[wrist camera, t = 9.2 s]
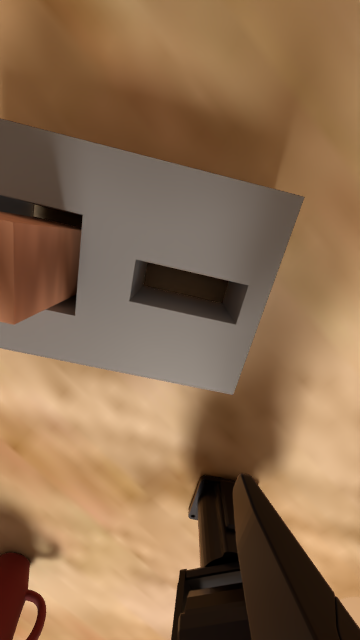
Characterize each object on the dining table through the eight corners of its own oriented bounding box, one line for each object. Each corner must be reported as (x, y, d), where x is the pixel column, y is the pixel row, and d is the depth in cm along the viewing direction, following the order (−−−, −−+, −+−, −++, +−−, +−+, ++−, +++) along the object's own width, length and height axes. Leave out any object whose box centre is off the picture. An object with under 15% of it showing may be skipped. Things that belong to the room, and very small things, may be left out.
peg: (94, 285, 18) (14, 324, 9) (43, 273, 18) (-87, 302, 9) (100, 232, 17) (13, 222, 8) (45, 219, 16) (-105, 193, 8)
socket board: (221, 358, 20) (233, 395, 15) (11, 314, 19) (-47, 338, 14) (268, 210, 16) (304, 196, 11) (7, 144, 15) (-74, 99, 10)
